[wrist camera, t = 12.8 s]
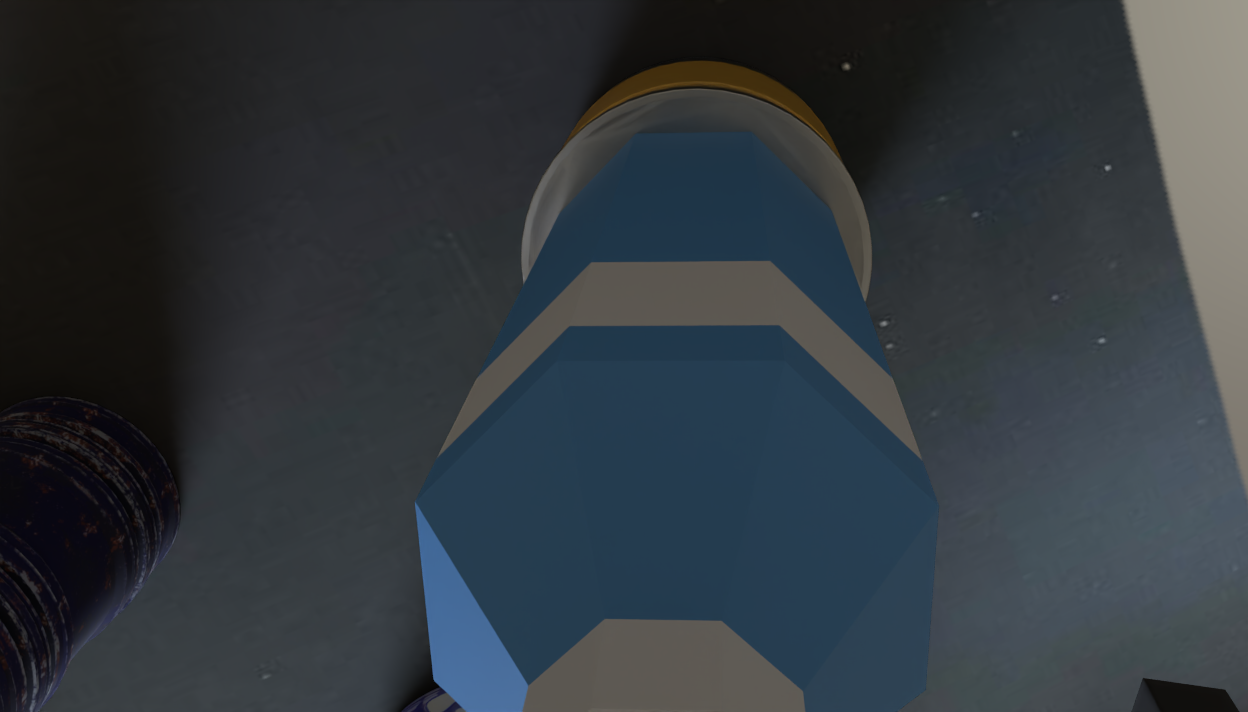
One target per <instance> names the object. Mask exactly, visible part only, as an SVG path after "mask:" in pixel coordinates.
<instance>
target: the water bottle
mask: <svg viewBox="0 0 1248 712" xmlns="http://www.w3.org/2000/svg"><path fill="white" fill-rule="evenodd" d="M415 506H416V516H417V525H418V535H419V545H420V554H421V564H422V574H423V583H424V593H425V602H426V612H427V622H428V631H429V641H430V650H431V660H432V670H433V679H434V681H435V682H436V683H437V684H438V685H439V686H440V687H441V688H442V689H443V690H445V691H446V692H447V693H448V694H449V695H450V696H451V697H452V698H453V699H454V700H455V701H456V702H457V703H458V704H459V705H460V706H461V707H462V708H463V709H464V710H465V711H466V712H897V711H898V710H900V709H901V708H902V707H904V706H905V705H906V704H908V703H909V702H910V701H912V700H913V699H914V698H916V697H917V696H918V695H920V694H921V693H922V692H924V691H925V690H926V678H927V664H928V651H929V637H930V623H931V609H932V596H933V582H934V568H935V554H936V540H937V527H938V513H939V505H938V502H937V499H936V496H935V494H934V491H933V488H932V485H931V483H930V480H929V477H928V474H927V471H926V469H925V466H924V463H923V460H922V458H921V455H920V452H919V449H918V447H917V444H916V441H915V438H914V436H913V433H912V430H911V427H910V425H909V422H908V419H907V416H906V414H905V411H904V408H903V405H902V403H901V400H900V397H899V394H898V392H897V389H896V386H895V383H894V381H893V378H892V375H891V372H890V370H889V367H888V364H887V361H886V359H885V356H884V353H883V350H882V348H881V345H880V342H879V339H878V336H877V334H876V331H875V328H874V325H873V323H872V320H871V317H870V314H869V312H868V309H867V306H866V303H865V301H864V298H863V295H862V292H861V290H860V287H859V284H858V281H857V279H856V276H855V273H854V270H853V268H852V265H851V262H850V259H849V257H848V254H847V251H846V248H845V246H844V243H843V240H842V237H841V235H840V232H839V229H838V226H837V224H836V221H835V218H834V215H833V213H832V210H831V209H830V208H829V207H828V206H827V205H825V204H824V203H823V202H822V201H821V200H820V199H819V198H818V197H817V196H816V195H815V194H814V193H813V192H812V191H811V190H810V189H809V188H808V187H807V186H806V185H805V184H804V183H803V182H802V181H801V180H800V179H799V178H798V177H797V176H796V175H795V174H794V173H793V172H792V171H791V170H790V169H789V168H788V167H787V166H786V165H785V164H784V163H783V162H782V161H781V160H780V159H779V158H778V157H777V156H776V155H775V154H774V153H773V152H772V151H771V150H770V149H769V148H768V147H767V146H766V145H765V144H764V143H763V142H762V141H761V140H760V139H759V138H758V137H757V136H756V135H755V134H754V133H753V132H695V133H636V134H635V135H634V136H633V137H632V138H631V139H630V140H629V141H628V142H627V143H626V144H625V145H624V146H623V147H622V148H621V150H620V151H619V152H618V153H617V154H616V155H615V156H614V157H613V158H612V159H611V160H610V161H609V162H608V163H607V164H606V165H605V166H604V167H603V168H602V169H601V170H600V171H599V173H598V174H597V175H596V176H595V177H594V178H593V179H592V180H591V181H590V182H589V183H588V184H587V185H586V186H585V187H584V188H583V189H582V190H581V191H580V192H579V193H578V195H577V196H576V197H575V198H574V199H573V200H572V201H571V202H570V203H569V204H568V205H567V206H566V207H565V208H564V209H563V210H562V211H561V212H560V213H559V215H558V217H557V219H556V221H555V223H554V225H553V227H552V229H551V231H550V233H549V235H548V237H547V239H546V241H545V243H544V245H543V247H542V249H541V251H540V253H539V255H538V257H537V259H536V261H535V263H534V265H533V267H532V269H531V271H530V273H529V275H528V277H527V279H526V281H525V283H524V285H523V287H522V289H521V291H520V293H519V295H518V297H517V299H516V301H515V303H514V305H513V307H512V309H511V311H510V313H509V315H508V317H507V319H506V321H505V323H504V325H503V327H502V329H501V331H500V333H499V335H498V337H497V339H496V341H495V343H494V345H493V347H492V349H491V351H490V353H489V355H488V357H487V359H486V361H485V363H484V365H483V367H482V369H481V371H480V373H479V375H478V377H477V379H476V381H475V383H474V385H473V387H472V389H471V391H470V393H469V395H468V397H467V399H466V401H465V403H464V405H463V407H462V409H461V411H460V413H459V415H458V417H457V419H456V421H455V423H454V425H453V427H452V429H451V431H450V433H449V435H448V437H447V439H446V441H445V443H444V445H443V447H442V449H441V451H440V453H439V455H438V457H437V459H436V461H435V463H434V465H433V467H432V469H431V471H430V473H429V475H428V477H427V479H426V481H425V483H424V485H423V487H422V489H421V491H420V493H419V495H418V497H417V499H416V501H415Z"/></svg>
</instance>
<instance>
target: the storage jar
mask: <svg viewBox="0 0 1248 712" xmlns="http://www.w3.org/2000/svg"><path fill="white" fill-rule="evenodd" d="M179 521H180V502H179V496H178V490H177V487H176V484H175V481H174V478H173V475H172V473H171V471H170V469H169V467H168V465H167V463H166V461H165V459H164V458H163V457H162V455H161V454H160V452H159V451H158V449H157V448H156V447H155V445H154V444H153V443H152V442H151V441H150V440H149V439H148V438H147V437H146V436H145V435H144V434H143V433H142V432H141V431H140V430H139V429H137V428H136V427H135V426H134V425H133V424H131V423H130V422H129V421H127V420H126V419H124V418H122V417H121V416H119V415H118V414H116V413H115V412H112V411H110V410H108V409H106V408H104V407H102V406H99V405H97V404H94V403H90V402H87V401H84V400H80V399H74V398H68V397H41V398H33V399H29V400H26V401H23V402H20V403H17V404H15V405H13V406H11V407H9V408H7V409H5V410H4V411H2V412H1V413H0V712H38V711H39V709H40V708H41V707H42V706H43V705H44V704H45V703H46V702H47V701H48V700H49V699H50V698H51V697H52V695H53V694H54V692H55V691H56V689H57V688H58V686H59V684H60V682H61V679H62V678H63V676H64V675H65V673H66V670H67V668H68V665H69V662H70V661H71V659H72V658H73V657H74V656H75V655H76V654H77V652H78V651H79V650H80V649H81V648H82V646H83V645H84V644H85V643H87V642H88V641H90V640H91V639H92V638H94V637H95V636H97V635H98V634H100V633H101V632H102V631H103V630H104V628H105V627H106V626H107V625H108V624H109V623H110V622H111V621H112V620H113V619H114V617H115V616H116V615H118V614H119V613H120V612H121V611H122V610H123V609H124V608H125V607H126V606H127V605H128V604H129V603H130V602H131V601H132V600H133V599H134V597H135V596H136V595H137V594H138V592H139V591H140V590H141V589H142V587H143V586H144V584H145V582H146V581H147V579H148V578H149V575H150V573H151V572H152V571H153V570H154V569H155V568H156V567H157V565H158V564H159V563H160V562H161V561H162V560H163V559H164V557H165V556H166V554H167V553H168V551H169V550H170V548H171V547H172V545H173V542H174V540H175V537H176V535H177V531H178V526H179Z"/></svg>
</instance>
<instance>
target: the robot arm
mask: <svg viewBox="0 0 1248 712" xmlns="http://www.w3.org/2000/svg"><path fill="white" fill-rule="evenodd" d="M1132 712H1239V711H1238V709H1237V708H1236V706H1235V704H1234V703H1233V701H1232V700H1231V698H1230V696H1229V695H1228V693H1227V692H1226V690H1223V689H1216V688H1209V687H1202V686H1195V685H1188V684H1181V683H1174V682H1167V681H1160V680H1153V679H1146V678H1143V679H1142V682H1141V685H1140V688H1139V691H1138V694H1137V697H1136V700H1135V703H1134V706H1133V709H1132Z"/></svg>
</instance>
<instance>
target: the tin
mask: <svg viewBox="0 0 1248 712" xmlns="http://www.w3.org/2000/svg"><path fill="white" fill-rule="evenodd" d="M695 132H753V133H754V134H755V135H756V136H757V137H758V138H759V139H760V140H761V141H762V142H763V143H764V144H765V145H766V146H767V147H768V148H769V149H770V150H771V151H772V152H773V153H774V154H775V155H776V156H777V157H778V158H779V159H780V160H781V161H782V162H783V163H784V164H785V165H786V166H787V167H788V168H789V169H790V170H791V171H792V172H793V173H794V174H795V175H796V176H797V177H798V178H799V179H800V180H801V181H802V182H803V183H804V184H805V185H806V186H807V187H808V188H809V189H810V190H811V191H812V192H813V193H814V194H815V195H816V196H817V197H818V198H819V199H820V200H821V201H822V202H823V203H824V204H825V205H827V206H828V207H829V208H830V209H831V210H832V213H833V215H834V218H835V221H836V224H837V226H838V229H839V232H840V235H841V237H842V240H843V243H844V246H845V248H846V251H847V254H848V257H849V259H850V262H851V265H852V268H853V270H854V273H855V276H856V279H857V281H858V284H859V287H860V290H861V292H862V295H863V298H864V301H865V302H866V299H867V295H868V292H869V285H870V278H871V272H872V243H871V235H870V228H869V222H868V219H867V215H866V212H865V208H864V204H863V201H862V199H861V197H860V195H859V192H858V190H857V188H856V185H855V183H854V181H853V179H852V177H851V175H850V174H849V172H848V170H847V169H846V167H845V165H844V163H843V161H842V159H841V157H840V155H839V153H838V151H837V149H836V146H835V144H834V142H833V140H832V138H831V137H830V135H829V133H828V132H827V130H826V128H825V127H824V125H823V124H822V122H821V121H820V120H819V119H818V117H817V116H816V115H815V114H814V112H813V111H812V110H811V109H810V108H809V107H808V106H807V104H806V103H805V102H804V101H803V100H802V99H801V98H800V97H799V96H798V95H797V94H796V93H795V92H794V91H792V90H791V89H790V88H789V87H788V86H786V85H785V84H783V83H782V82H780V81H779V80H778V79H776V78H775V77H773V76H771V75H769V74H767V73H765V72H763V71H761V70H759V69H757V68H754V67H752V66H749V65H746V64H743V63H740V62H736V61H731V60H727V59H722V58H711V57H691V58H680V59H675V60H670V61H665V62H661V63H658V64H655V65H652V66H650V67H647V68H644V69H642V70H640V71H638V72H636V73H634V74H632V75H630V76H628V77H627V78H625V79H624V80H622V81H621V82H619V83H618V84H616V85H615V86H613V87H612V88H611V89H610V90H609V91H608V92H607V93H605V94H604V95H603V96H602V97H601V98H600V99H599V100H598V101H597V102H596V103H594V104H593V105H592V106H591V107H590V109H589V110H588V111H587V112H586V113H585V114H584V116H583V117H582V118H581V119H580V120H579V122H578V123H577V125H576V126H575V128H574V129H573V131H572V132H571V134H570V136H569V137H568V139H567V140H566V142H565V144H564V145H563V147H562V148H561V150H560V151H559V152H558V153H557V155H556V156H555V158H554V159H553V161H552V162H551V164H550V165H549V167H548V168H547V170H546V171H545V173H544V174H543V176H542V178H541V180H540V182H539V184H538V186H537V188H536V190H535V193H534V195H533V197H532V200H531V203H530V206H529V209H528V212H527V216H526V219H525V225H524V230H523V236H522V250H521V266H522V276H523V285H524V283H525V281H526V279H527V277H528V275H529V273H530V271H531V269H532V267H533V265H534V263H535V261H536V259H537V257H538V255H539V253H540V251H541V249H542V247H543V245H544V243H545V241H546V239H547V237H548V235H549V233H550V231H551V229H552V227H553V225H554V223H555V221H556V219H557V217H558V215H559V213H560V212H561V211H562V210H563V209H564V208H565V207H566V206H567V205H568V204H569V203H570V202H571V201H572V200H573V199H574V198H575V197H576V196H577V195H578V193H579V192H580V191H581V190H582V189H583V188H584V187H585V186H586V185H587V184H588V183H589V182H590V181H591V180H592V179H593V178H594V177H595V176H596V175H597V174H598V173H599V171H600V170H601V169H602V168H603V167H604V166H605V165H606V164H607V163H608V162H609V161H610V160H611V159H612V158H613V157H614V156H615V155H616V154H617V153H618V152H619V151H620V150H621V148H622V147H623V146H624V145H625V144H626V143H627V142H628V141H629V140H630V139H631V138H632V137H633V136H634V135H635V134H636V133H695Z"/></svg>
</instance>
